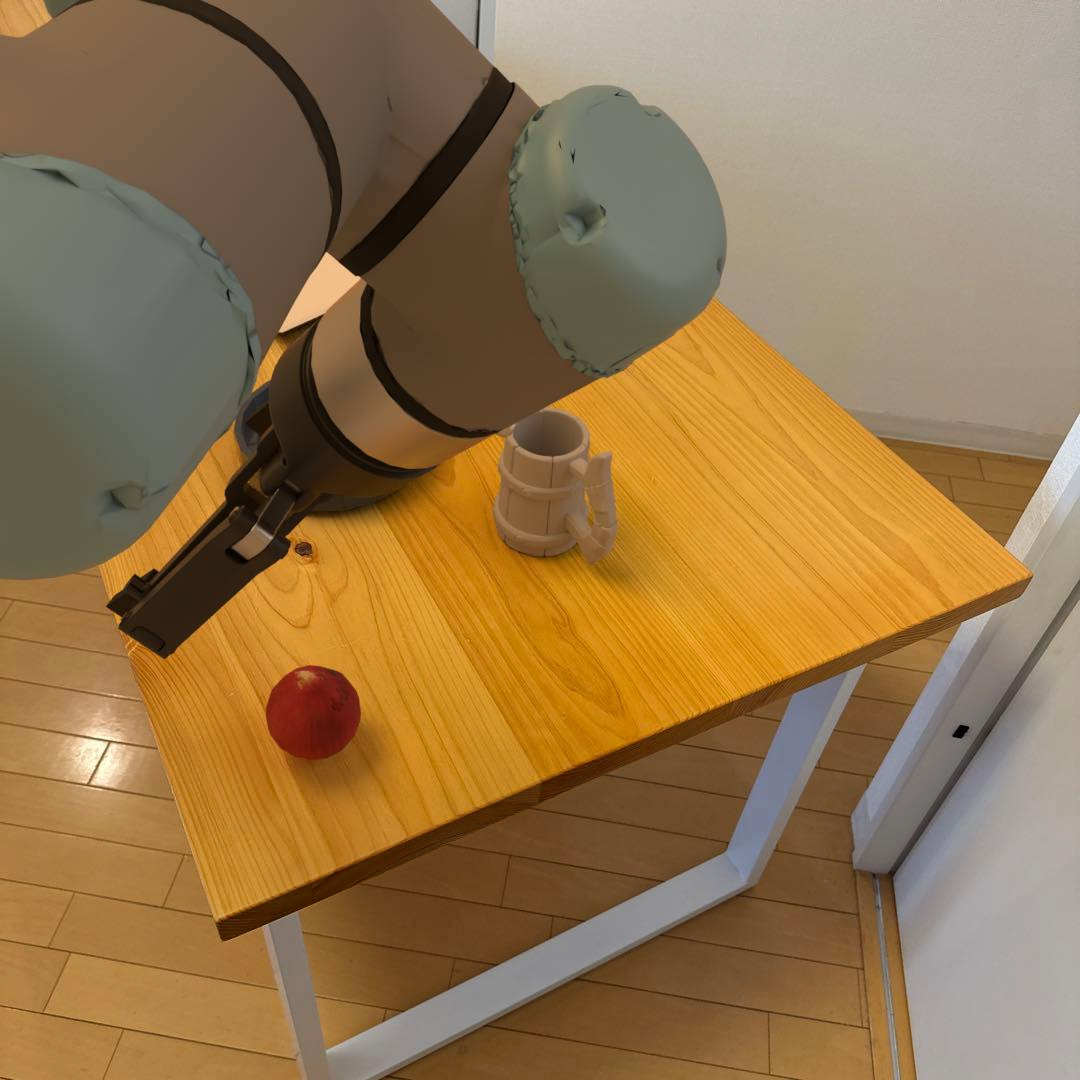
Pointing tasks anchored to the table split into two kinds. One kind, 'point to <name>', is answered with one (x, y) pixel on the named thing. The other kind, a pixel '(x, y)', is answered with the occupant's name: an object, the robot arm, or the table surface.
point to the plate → (319, 293)
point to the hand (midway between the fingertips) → (203, 519)
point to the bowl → (250, 440)
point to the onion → (313, 712)
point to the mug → (554, 489)
